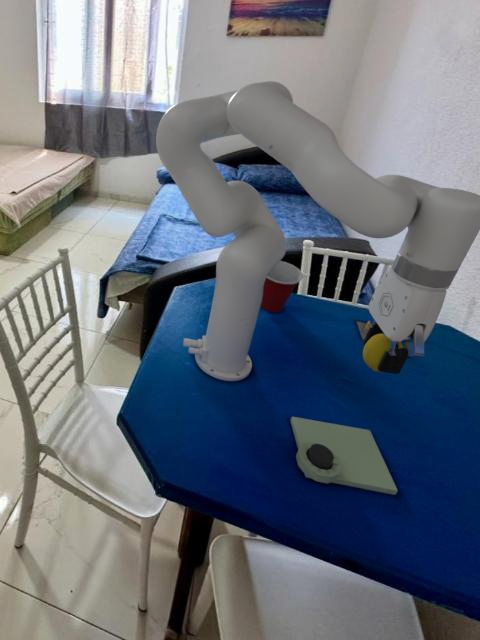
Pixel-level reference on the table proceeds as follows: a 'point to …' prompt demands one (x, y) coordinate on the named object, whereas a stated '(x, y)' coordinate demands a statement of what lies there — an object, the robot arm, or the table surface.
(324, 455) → the button
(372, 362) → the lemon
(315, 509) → the table surface
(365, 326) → the dice set
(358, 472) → the scale
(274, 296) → the plastic cup
